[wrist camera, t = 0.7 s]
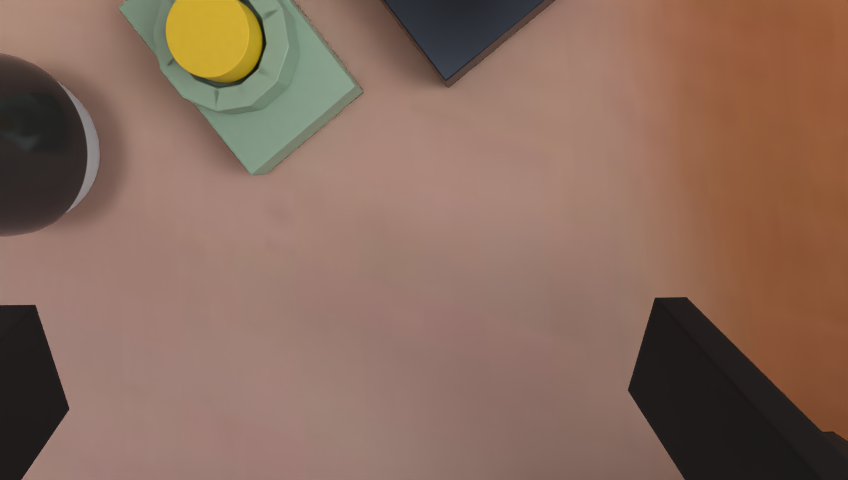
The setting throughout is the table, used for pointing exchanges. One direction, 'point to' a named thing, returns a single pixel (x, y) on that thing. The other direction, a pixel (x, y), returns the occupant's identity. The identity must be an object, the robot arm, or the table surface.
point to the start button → (214, 38)
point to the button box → (259, 82)
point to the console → (461, 29)
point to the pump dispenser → (41, 148)
